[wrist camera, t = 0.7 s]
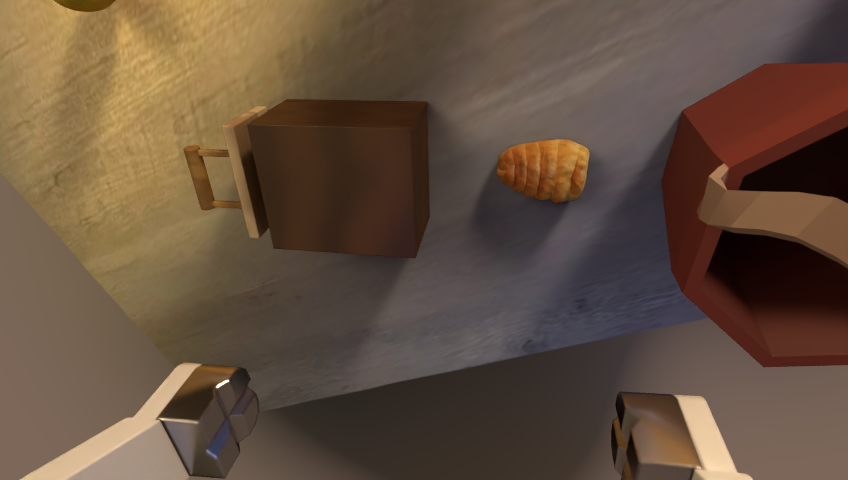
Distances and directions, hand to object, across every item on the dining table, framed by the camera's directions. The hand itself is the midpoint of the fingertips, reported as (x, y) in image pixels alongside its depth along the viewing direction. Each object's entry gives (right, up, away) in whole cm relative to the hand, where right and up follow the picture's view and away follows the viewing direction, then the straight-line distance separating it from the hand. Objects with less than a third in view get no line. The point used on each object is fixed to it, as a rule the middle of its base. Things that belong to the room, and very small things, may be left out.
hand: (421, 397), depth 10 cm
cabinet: (-7, +13, +45) cm, 47 cm away
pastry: (+14, +11, +42) cm, 45 cm away
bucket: (+33, +13, +37) cm, 51 cm away
